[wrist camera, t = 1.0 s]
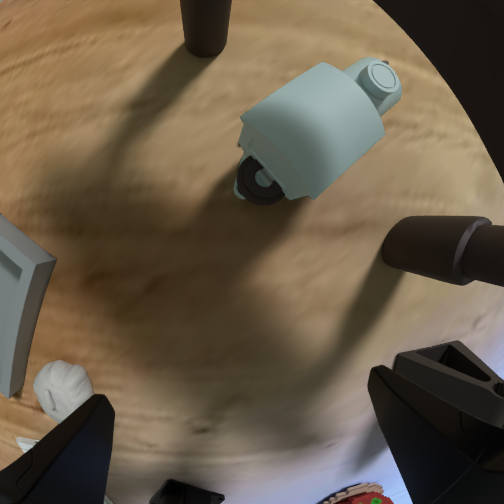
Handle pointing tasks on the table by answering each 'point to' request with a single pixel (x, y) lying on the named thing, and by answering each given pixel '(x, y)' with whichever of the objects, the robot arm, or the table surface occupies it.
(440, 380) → the phone stand
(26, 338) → the tray
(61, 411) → the garlic
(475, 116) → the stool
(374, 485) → the cake
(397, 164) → the table surface
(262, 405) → the table surface
